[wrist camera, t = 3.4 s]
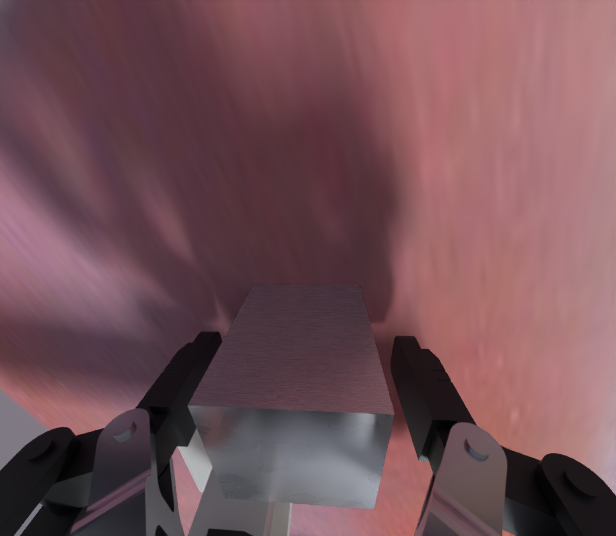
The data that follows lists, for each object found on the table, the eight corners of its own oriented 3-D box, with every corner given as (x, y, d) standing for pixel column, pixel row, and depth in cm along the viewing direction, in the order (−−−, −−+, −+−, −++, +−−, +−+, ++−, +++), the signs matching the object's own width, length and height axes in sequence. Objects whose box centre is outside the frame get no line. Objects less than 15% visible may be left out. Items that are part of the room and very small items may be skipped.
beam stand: (359, 391, 14) (412, 740, 6) (350, 483, 19) (371, 741, 10) (168, 385, 15) (-32, 680, 6) (207, 474, 20) (122, 707, 11)
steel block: (359, 284, 11) (394, 414, 5) (352, 361, 13) (373, 509, 8) (253, 283, 11) (187, 405, 6) (265, 359, 13) (225, 498, 8)
